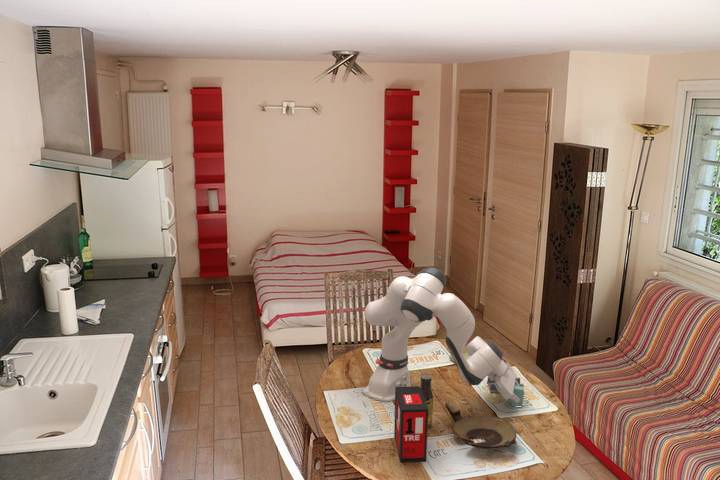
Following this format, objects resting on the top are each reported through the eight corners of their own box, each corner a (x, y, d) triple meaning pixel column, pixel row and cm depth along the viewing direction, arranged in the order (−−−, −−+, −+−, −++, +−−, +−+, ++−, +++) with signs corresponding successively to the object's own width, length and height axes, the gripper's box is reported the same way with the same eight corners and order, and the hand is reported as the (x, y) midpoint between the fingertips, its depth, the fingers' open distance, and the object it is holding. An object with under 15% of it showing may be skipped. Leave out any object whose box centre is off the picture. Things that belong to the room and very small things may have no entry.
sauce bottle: (427, 431, 224) (429, 382, 219) (412, 426, 227) (414, 378, 223) (435, 423, 229) (436, 375, 225) (420, 418, 233) (422, 371, 228)
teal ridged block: (511, 406, 243) (513, 388, 241) (512, 402, 245) (513, 385, 244) (522, 408, 241) (523, 390, 240) (522, 404, 244) (523, 386, 242)
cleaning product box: (394, 436, 220) (395, 386, 216) (417, 435, 221) (419, 386, 216) (400, 462, 204) (402, 410, 200) (426, 461, 205) (428, 409, 200)
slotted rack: (490, 393, 253) (491, 385, 252) (486, 382, 263) (487, 375, 262) (523, 394, 253) (524, 386, 252) (518, 383, 262) (519, 376, 262)
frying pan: (474, 466, 203) (475, 446, 201) (434, 422, 230) (435, 404, 229) (529, 454, 210) (531, 434, 208) (484, 412, 238) (485, 395, 236)
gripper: (499, 376, 232) (523, 403, 231) (504, 356, 251) (527, 380, 250) (487, 385, 234) (511, 412, 234) (493, 364, 253) (515, 388, 253)
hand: (519, 395), depth 242 cm, fingers open, 8 cm apart
